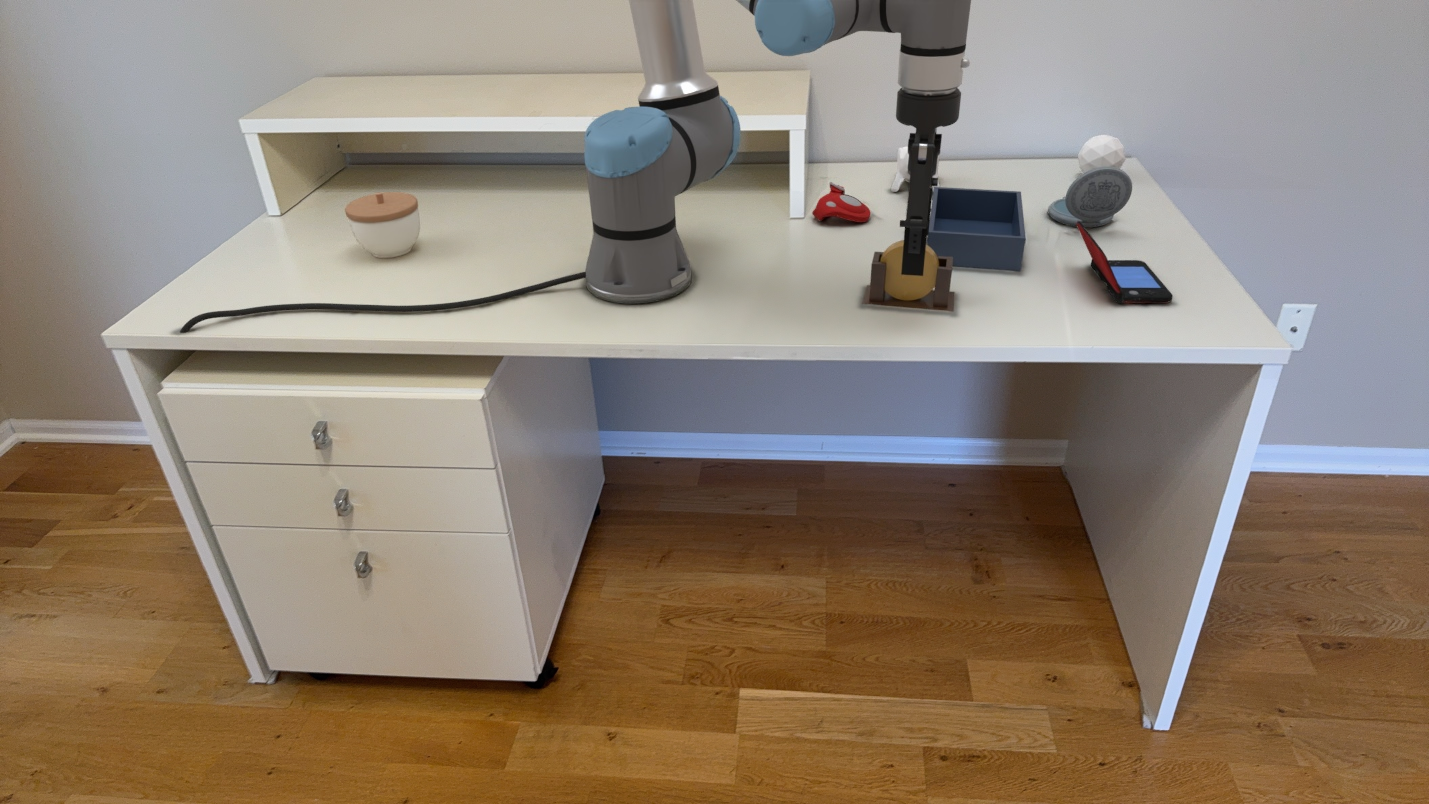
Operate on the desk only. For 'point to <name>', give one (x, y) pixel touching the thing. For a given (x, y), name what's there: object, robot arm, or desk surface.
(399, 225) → the trinket box
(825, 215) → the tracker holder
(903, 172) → the white animal figurine
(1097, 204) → the pocket watch
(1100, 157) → the geometric ball
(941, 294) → the holder
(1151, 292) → the handheld console
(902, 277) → the disc
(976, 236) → the bin
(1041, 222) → the desk surface
